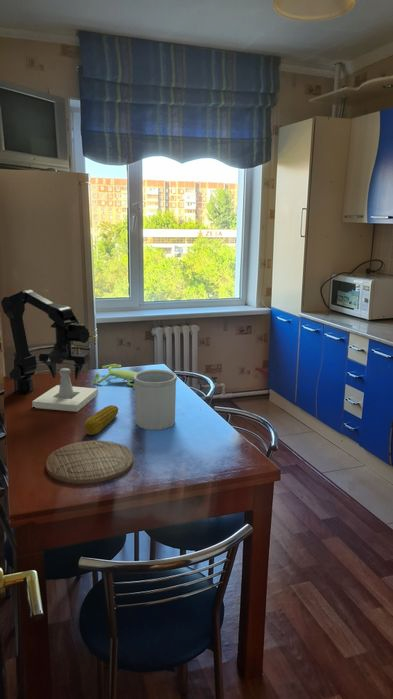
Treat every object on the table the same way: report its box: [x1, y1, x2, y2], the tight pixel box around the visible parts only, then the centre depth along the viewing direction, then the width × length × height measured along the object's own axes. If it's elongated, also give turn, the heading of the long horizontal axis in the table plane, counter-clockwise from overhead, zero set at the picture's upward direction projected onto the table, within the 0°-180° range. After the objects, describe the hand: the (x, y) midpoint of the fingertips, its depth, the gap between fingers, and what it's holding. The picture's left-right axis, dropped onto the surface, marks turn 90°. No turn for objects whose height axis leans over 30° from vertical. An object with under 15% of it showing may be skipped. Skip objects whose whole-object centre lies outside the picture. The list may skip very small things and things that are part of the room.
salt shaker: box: [58, 367, 74, 399], centre depth 199 cm, size 6×6×13 cm
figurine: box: [92, 363, 139, 389], centre depth 226 cm, size 18×27×6 cm
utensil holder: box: [133, 369, 178, 431], centre depth 178 cm, size 15×15×18 cm
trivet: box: [45, 440, 134, 485], centre depth 150 cm, size 25×25×2 cm
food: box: [83, 404, 119, 436], centre depth 177 cm, size 21×6×6 cm, turn 167°
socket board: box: [31, 384, 99, 413], centre depth 200 cm, size 18×20×2 cm
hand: (65, 378), depth 198 cm, fingers open, 9 cm apart
